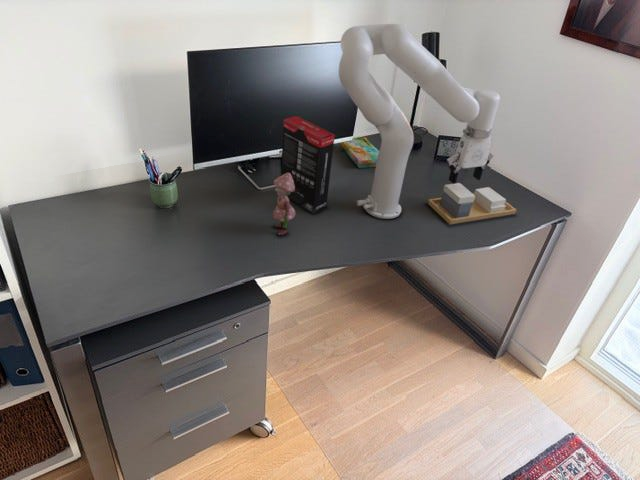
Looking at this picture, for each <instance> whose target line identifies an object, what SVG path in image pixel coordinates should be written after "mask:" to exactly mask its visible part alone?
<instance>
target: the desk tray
mask: <svg viewBox="0 0 640 480" xmlns="http://www.w3.org/2000/svg"><path fill="white" fill-rule="evenodd" d="M474 193H475V192H472V194H474ZM441 198H442V197H438V198H429V199H428V200H427V201H428V202H427V204H428V205H429V206H430V208H432V209H433V210H434V211H435V212H436V213H437V214H438V215H439V216H440V217H441V218H443V220H444V221H445V222H447V224H448V225H454V224H459V223H465V222H466V223H467V222H473V221H478V220H485V219H490V218H491V219H492V218H498V217H504V216H510V215H516V213H517V209H516V208H515V207H513V206H512V204H510V203H508V202H507V200H506V201H505V204H504V205H505V206H506V207H505V209H504V211H499V212H492V213H488V212H487V211H486V210H485V209H484V208H483V207H481V206H480V205H479V204H478V203H477V202H476V201H474V202H473V204H472V207H471V211H470V214H469V216H467V217H460V218H454V217H453V216H452V215H451V214H449V213H448V212H447V211H446V210H445V209H444V208H443V207H442V206H441V205H440V202H441Z"/></svg>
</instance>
